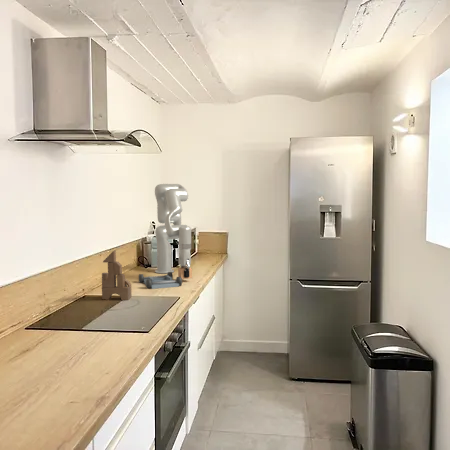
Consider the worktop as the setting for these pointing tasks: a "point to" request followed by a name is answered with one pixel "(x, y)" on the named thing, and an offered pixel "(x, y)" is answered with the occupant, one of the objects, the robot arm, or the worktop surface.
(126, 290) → the wooden toy
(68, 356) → the worktop surface
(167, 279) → the chassis
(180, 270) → the block
